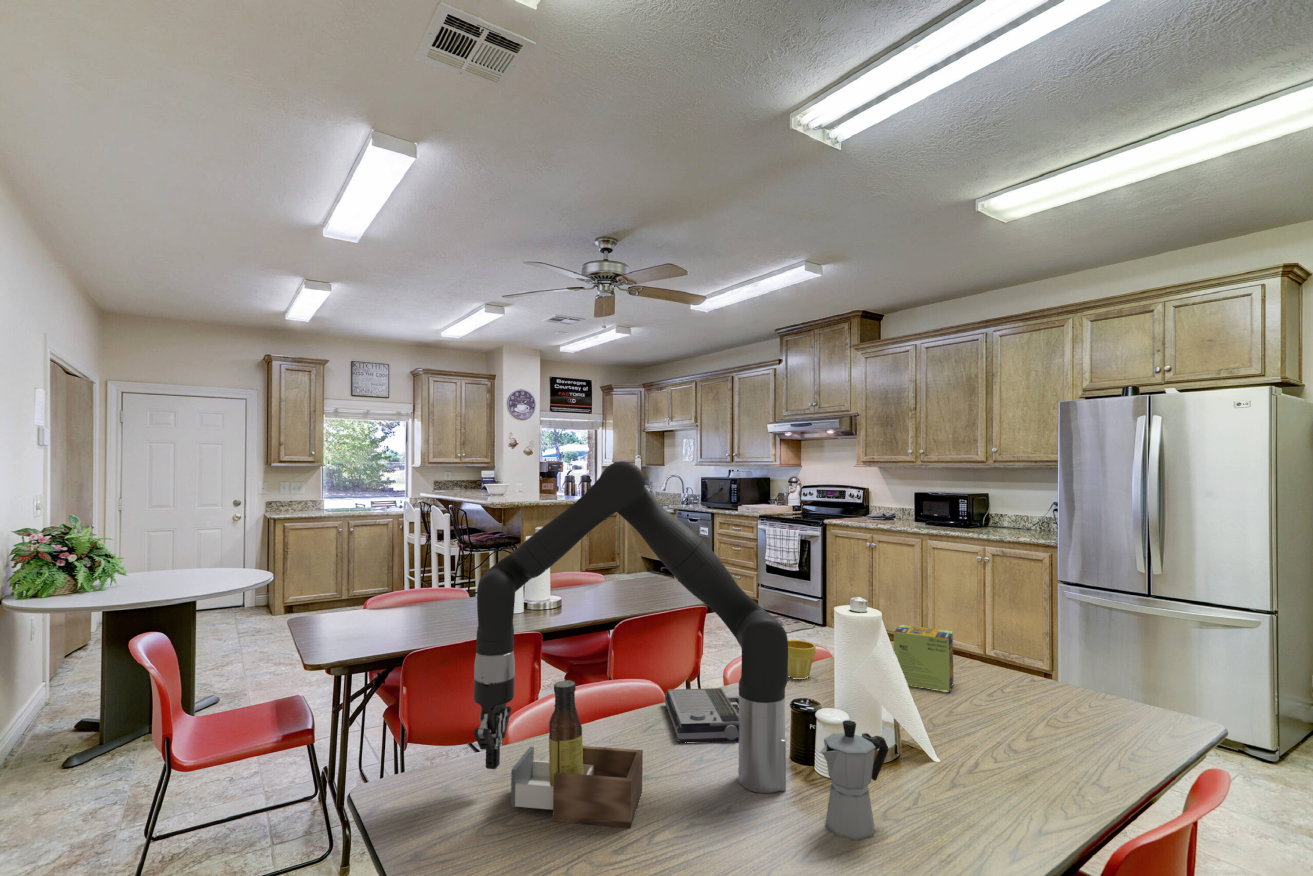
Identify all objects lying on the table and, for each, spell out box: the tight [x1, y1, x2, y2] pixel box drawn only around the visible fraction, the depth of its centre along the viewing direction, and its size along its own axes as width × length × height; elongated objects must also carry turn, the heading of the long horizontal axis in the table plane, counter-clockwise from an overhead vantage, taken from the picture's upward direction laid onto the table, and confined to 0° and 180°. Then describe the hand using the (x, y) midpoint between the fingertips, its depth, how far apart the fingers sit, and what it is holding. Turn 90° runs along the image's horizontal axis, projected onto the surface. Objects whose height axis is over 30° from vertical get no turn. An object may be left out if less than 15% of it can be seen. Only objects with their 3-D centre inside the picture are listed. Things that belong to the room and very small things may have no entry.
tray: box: [510, 746, 594, 811], centre depth 120 cm, size 13×10×6 cm
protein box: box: [893, 624, 955, 692], centre depth 190 cm, size 10×15×16 cm
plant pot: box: [788, 639, 817, 679], centre depth 196 cm, size 10×10×10 cm
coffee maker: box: [819, 719, 889, 841], centre depth 114 cm, size 15×9×18 cm, turn 114°
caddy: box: [552, 745, 644, 829], centre depth 119 cm, size 14×13×8 cm
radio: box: [664, 687, 739, 744], centre depth 159 cm, size 24×5×20 cm
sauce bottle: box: [548, 680, 584, 786], centre depth 121 cm, size 6×6×20 cm
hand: (492, 767), depth 122 cm, fingers closed
